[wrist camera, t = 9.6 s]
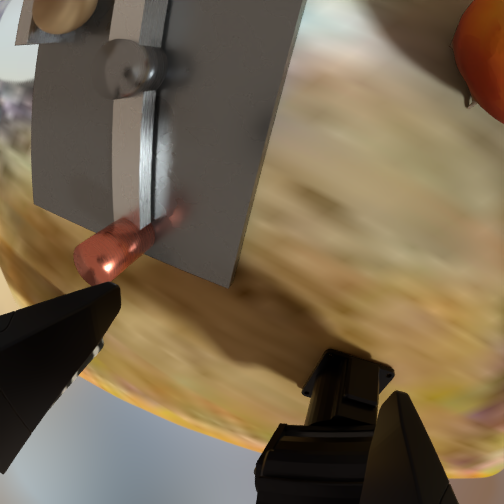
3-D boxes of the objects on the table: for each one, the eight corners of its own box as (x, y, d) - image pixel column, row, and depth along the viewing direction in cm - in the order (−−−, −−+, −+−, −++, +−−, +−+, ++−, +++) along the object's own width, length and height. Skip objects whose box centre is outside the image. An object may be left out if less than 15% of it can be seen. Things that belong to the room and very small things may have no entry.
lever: (132, -9, 15) (74, -23, 10) (180, -16, 14) (125, -39, 9) (120, 243, 25) (74, 277, 20) (158, 255, 24) (115, 296, 19)
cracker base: (233, 281, 25) (209, 317, 21) (40, 200, 28) (8, 217, 24) (312, -23, 13) (300, -52, 9) (60, -15, 16) (22, -19, 12)
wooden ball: (104, 33, 17) (52, 31, 13) (62, 36, 18) (14, 38, 14) (119, -26, 14) (70, -39, 10) (75, -18, 15) (28, -24, 11)
